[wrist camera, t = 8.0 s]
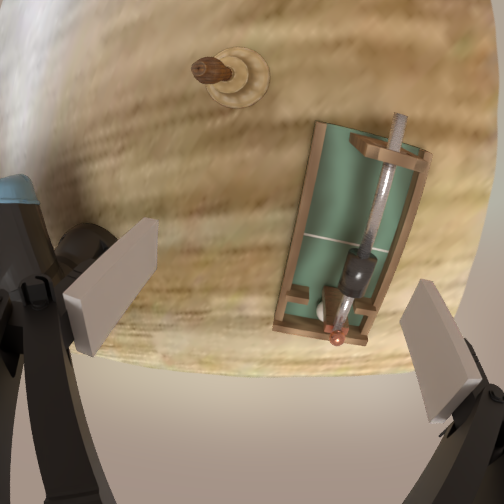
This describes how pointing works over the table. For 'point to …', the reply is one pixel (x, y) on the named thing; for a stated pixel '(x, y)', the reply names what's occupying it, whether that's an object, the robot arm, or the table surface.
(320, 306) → the ball
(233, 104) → the hand bell
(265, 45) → the table surface
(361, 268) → the kicker
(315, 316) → the pitch
